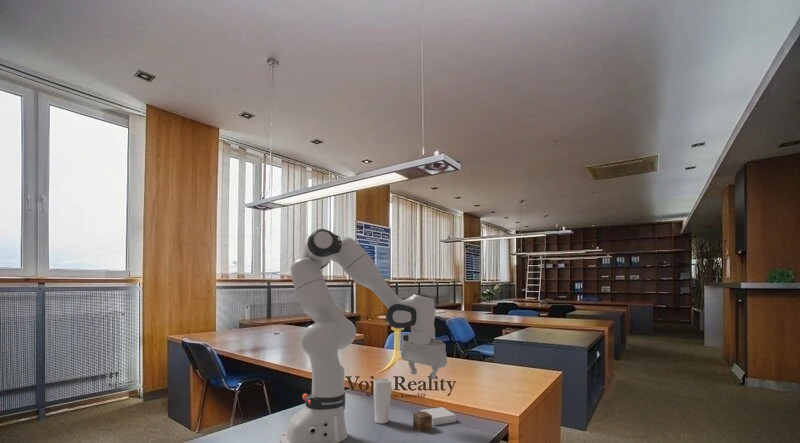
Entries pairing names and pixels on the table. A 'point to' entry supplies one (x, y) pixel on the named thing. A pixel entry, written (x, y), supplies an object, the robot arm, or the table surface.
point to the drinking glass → (382, 399)
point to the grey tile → (440, 415)
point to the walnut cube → (422, 421)
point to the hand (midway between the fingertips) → (423, 376)
